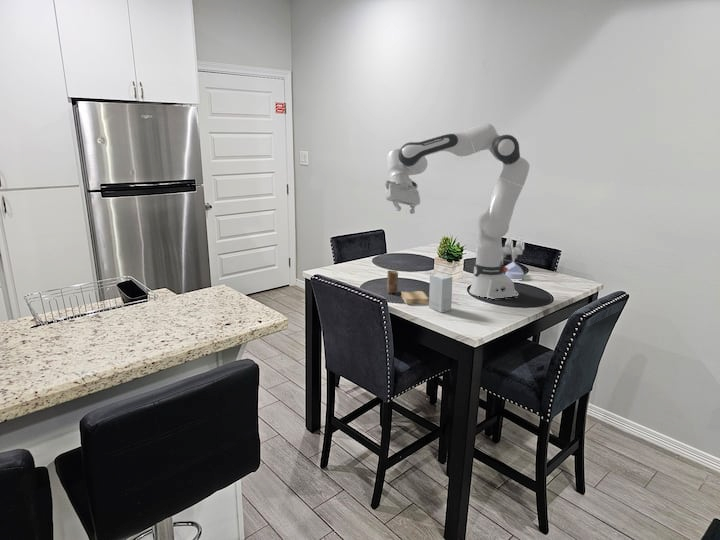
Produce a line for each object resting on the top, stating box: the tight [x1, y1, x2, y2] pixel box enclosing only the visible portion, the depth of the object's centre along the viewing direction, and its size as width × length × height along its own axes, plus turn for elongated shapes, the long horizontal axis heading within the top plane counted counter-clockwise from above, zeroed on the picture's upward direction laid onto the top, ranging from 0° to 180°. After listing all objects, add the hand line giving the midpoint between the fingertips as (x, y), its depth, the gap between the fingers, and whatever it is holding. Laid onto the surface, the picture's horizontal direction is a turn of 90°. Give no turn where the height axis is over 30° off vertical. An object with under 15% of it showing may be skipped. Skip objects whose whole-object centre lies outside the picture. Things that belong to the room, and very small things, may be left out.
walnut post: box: [386, 270, 399, 294], centre depth 222 cm, size 4×4×10 cm
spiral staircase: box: [475, 235, 525, 266], centre depth 274 cm, size 18×18×25 cm
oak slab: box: [400, 290, 429, 305], centre depth 214 cm, size 10×10×3 cm
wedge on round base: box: [504, 261, 525, 279], centre depth 253 cm, size 9×7×13 cm
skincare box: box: [428, 272, 453, 314], centre depth 203 cm, size 8×6×15 cm
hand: (405, 211), depth 218 cm, fingers open, 8 cm apart
